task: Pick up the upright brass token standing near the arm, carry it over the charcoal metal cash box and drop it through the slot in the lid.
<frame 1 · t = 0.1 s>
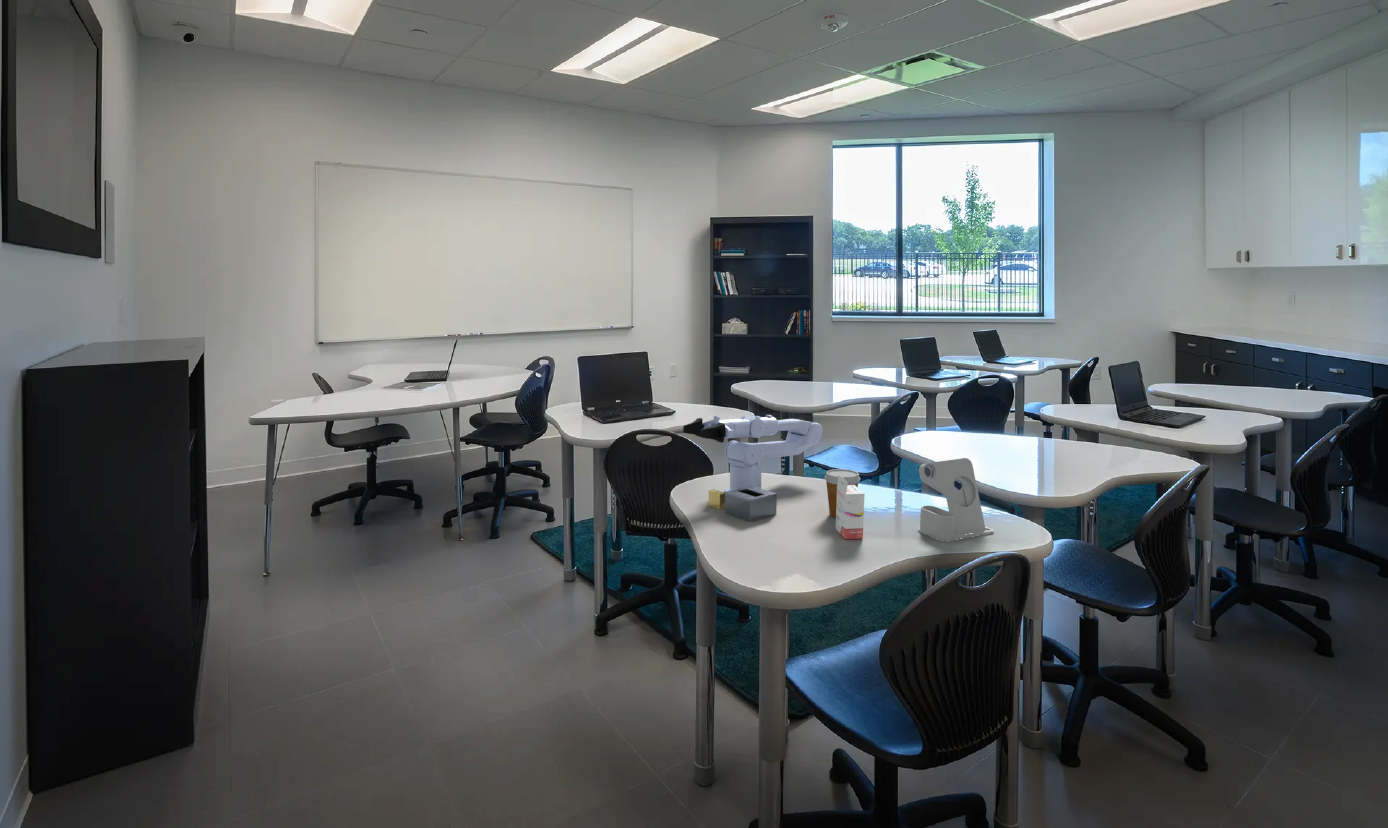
hand: (692, 431, 203), 22 cm above the table, tool horizontal, fingers open, 7 cm apart
cash box: (750, 513, 198), on the table
grey mounting bracket: (954, 532, 182), on the table
token: (716, 506, 204), on the table
ink cartridge box: (849, 534, 181), on the table
disposable coffee cup: (841, 516, 196), on the table
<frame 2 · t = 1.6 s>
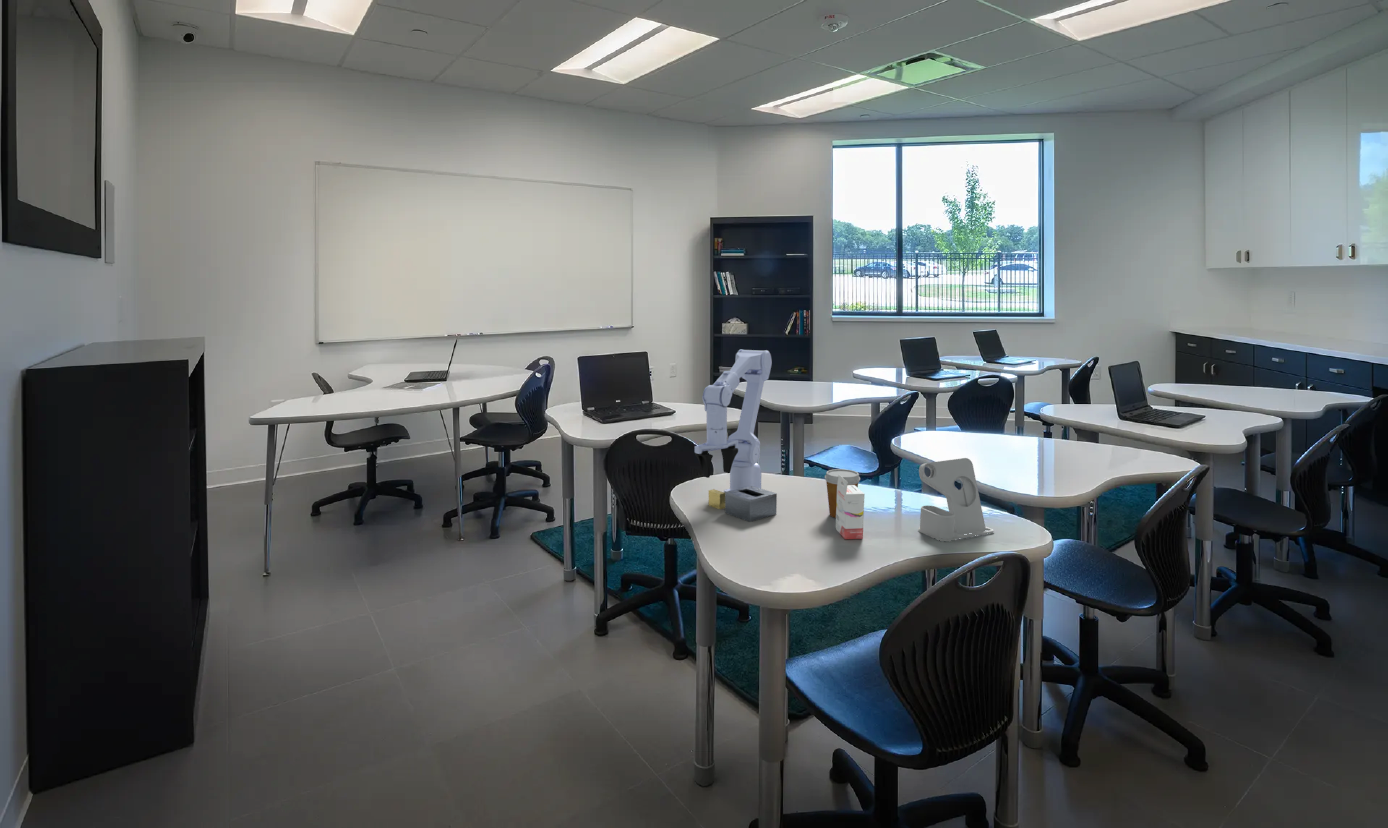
hand: (716, 474, 203), 9 cm above the table, tool pointing down, fingers open, 7 cm apart
nothing on the table moved.
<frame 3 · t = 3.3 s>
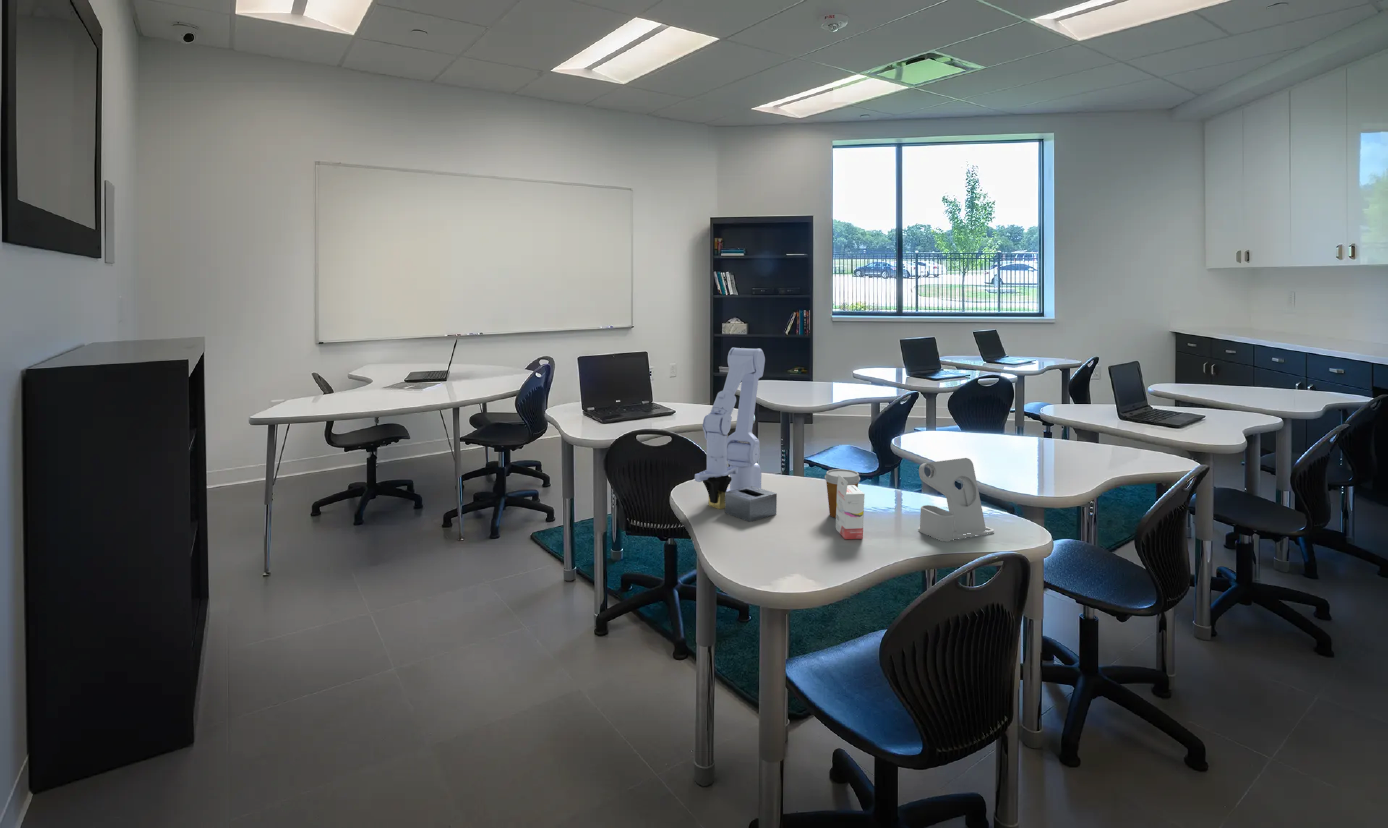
hand: (716, 501, 204), 1 cm above the table, tool pointing down, fingers closed on token, 2 cm apart
token: (716, 506, 204), on the table, touching gripper
everything else where it was.
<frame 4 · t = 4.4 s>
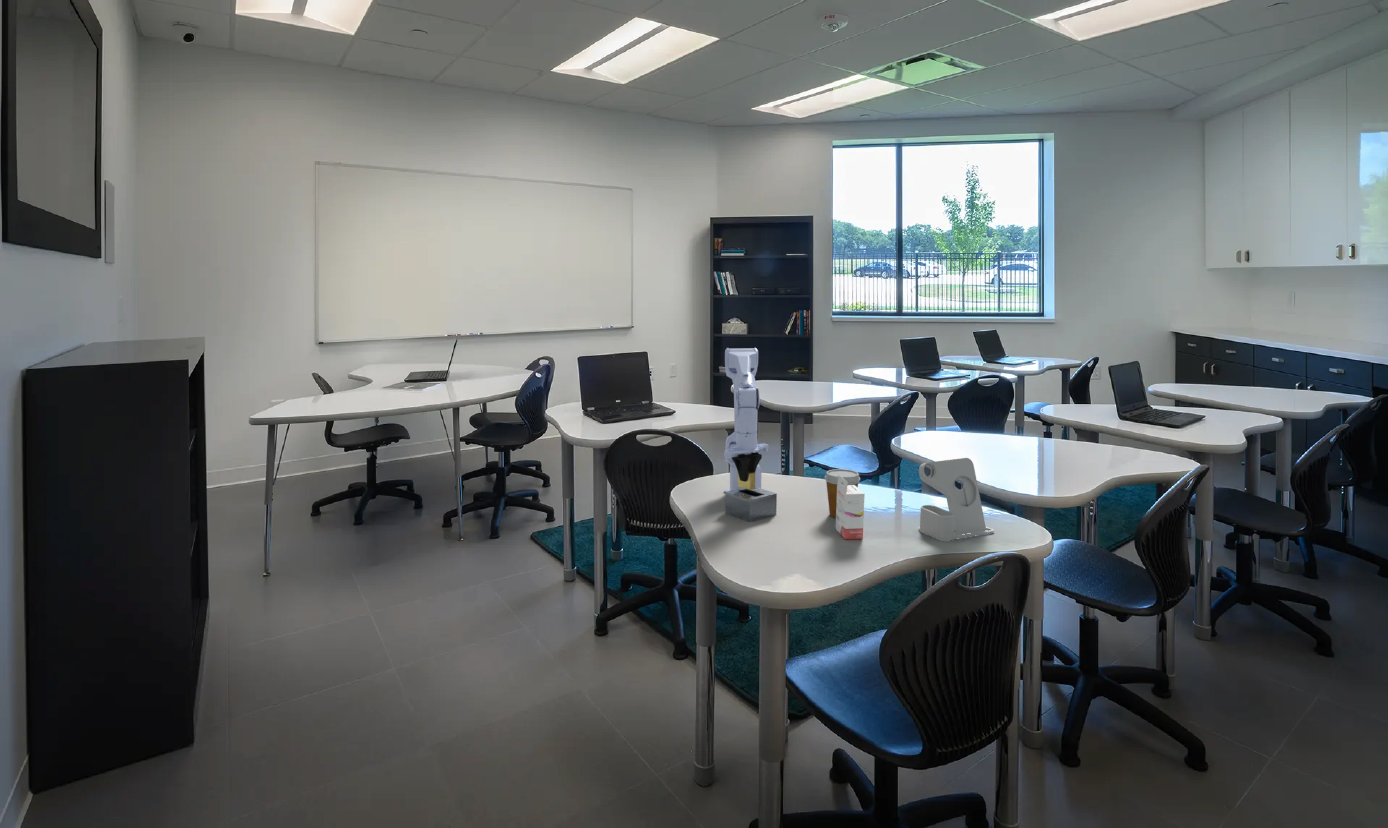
hand: (746, 480, 197), 9 cm above the table, tool pointing down, fingers closed on token
token: (746, 487, 197), point 7 cm above the table, touching gripper
everything else where it was.
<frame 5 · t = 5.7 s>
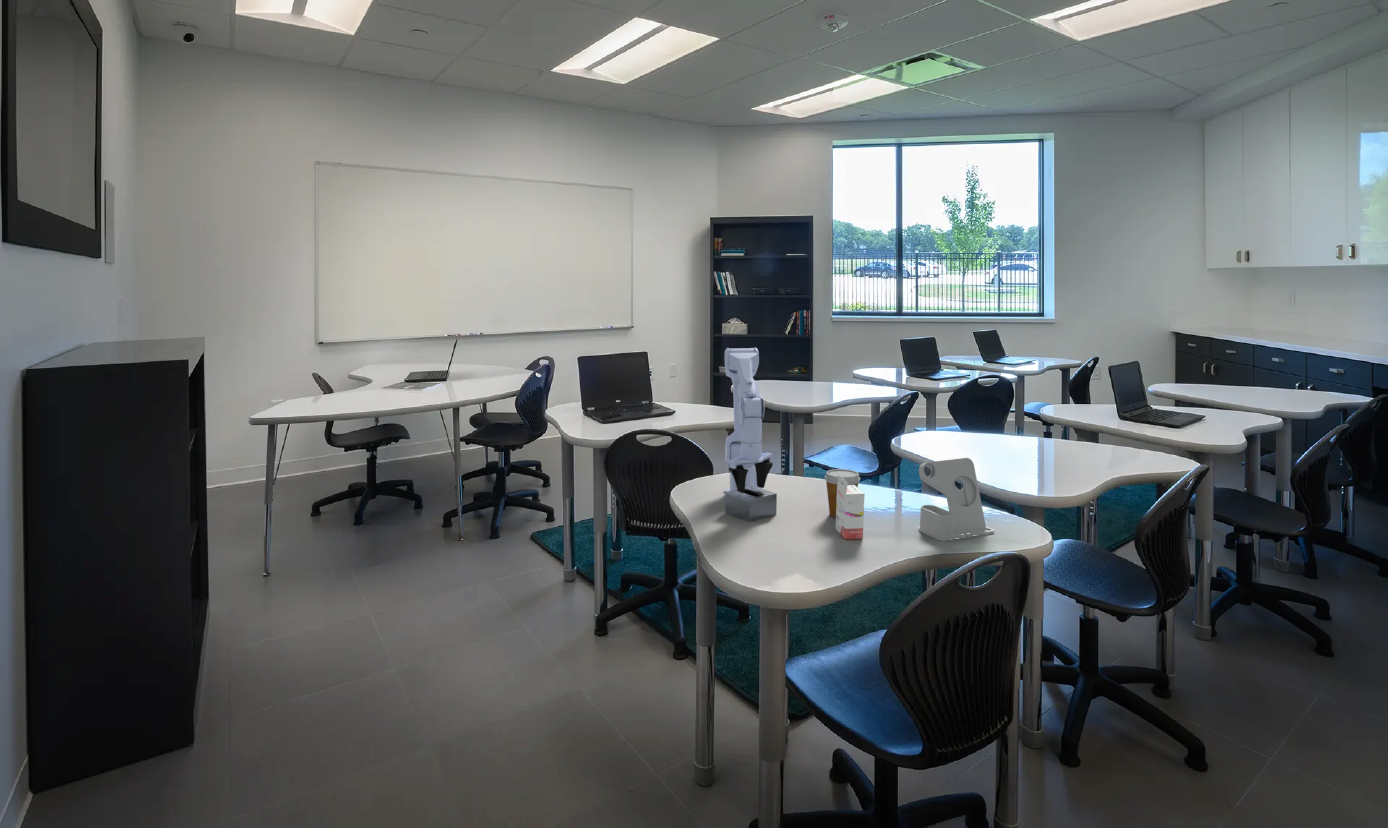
hand: (750, 489, 196), 7 cm above the table, tool pointing down, fingers open, 7 cm apart
token: (750, 514, 198), resting in cash box
everything else where it was.
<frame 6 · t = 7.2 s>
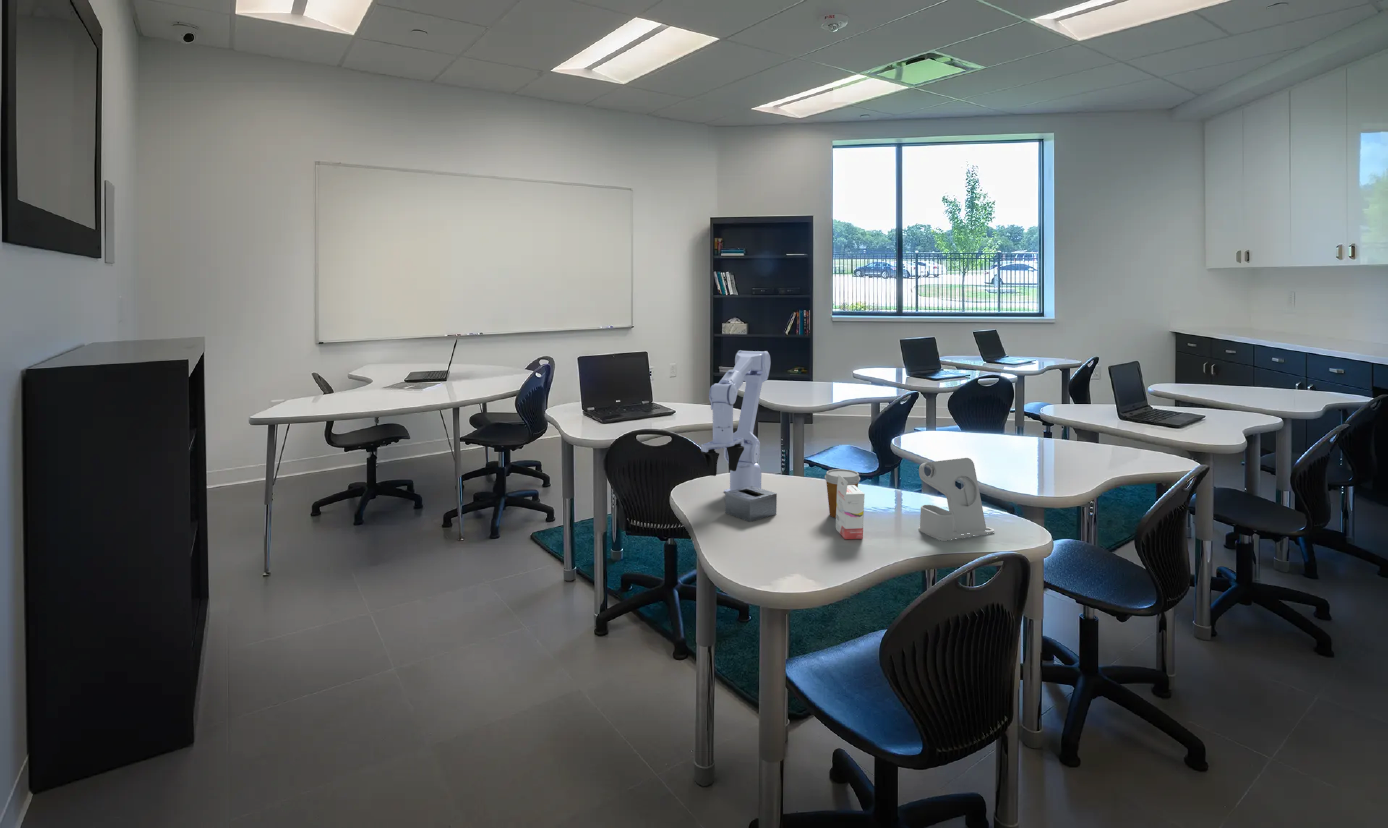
hand: (722, 472, 203), 10 cm above the table, tool pointing down, fingers open, 7 cm apart
nothing on the table moved.
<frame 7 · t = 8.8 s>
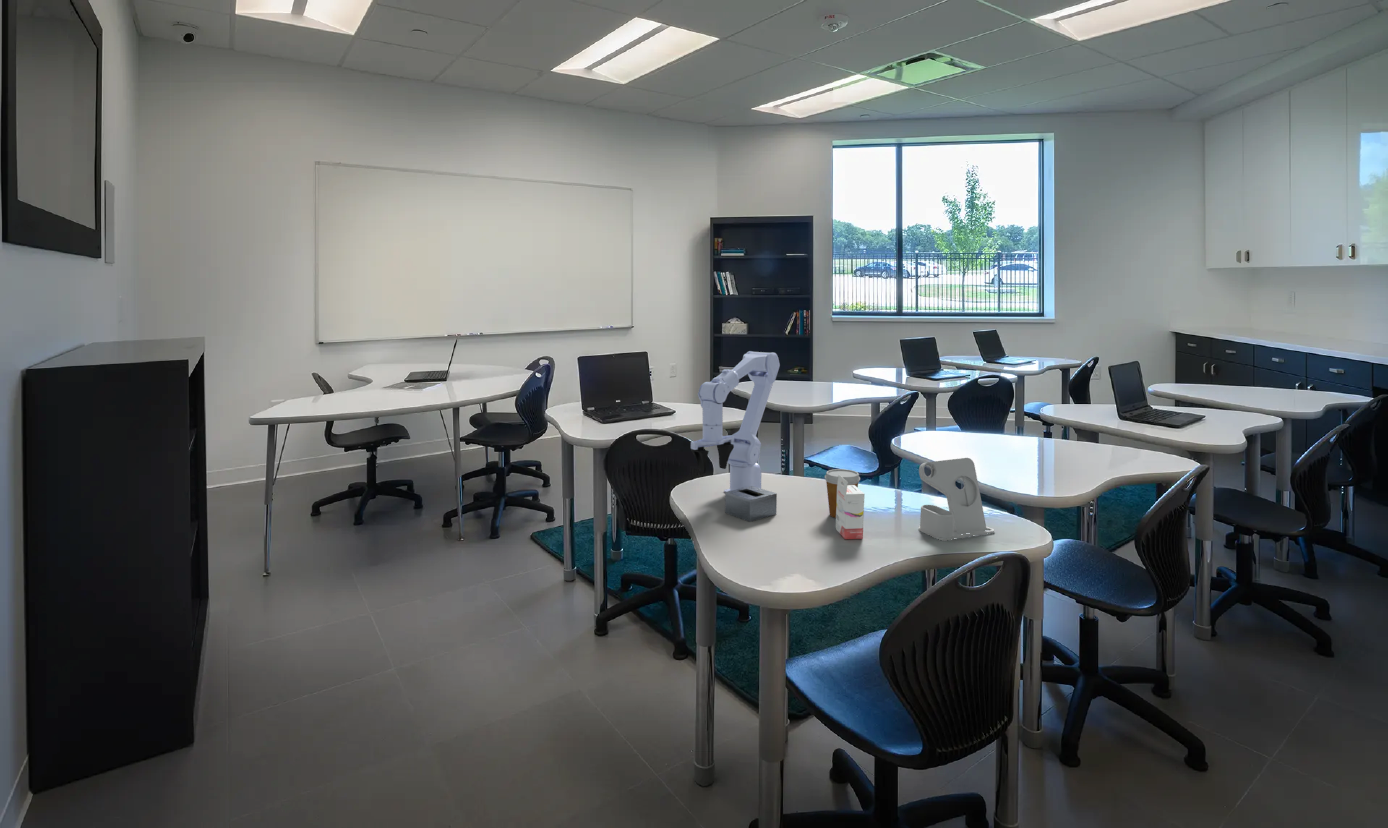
hand: (712, 470, 206), 10 cm above the table, tool pointing down, fingers open, 7 cm apart
nothing on the table moved.
at the end: token inside the target area on the cash box (0.1 cm from its centre), point 0.0 cm above the cash box's base; the gripper is holding nothing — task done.
